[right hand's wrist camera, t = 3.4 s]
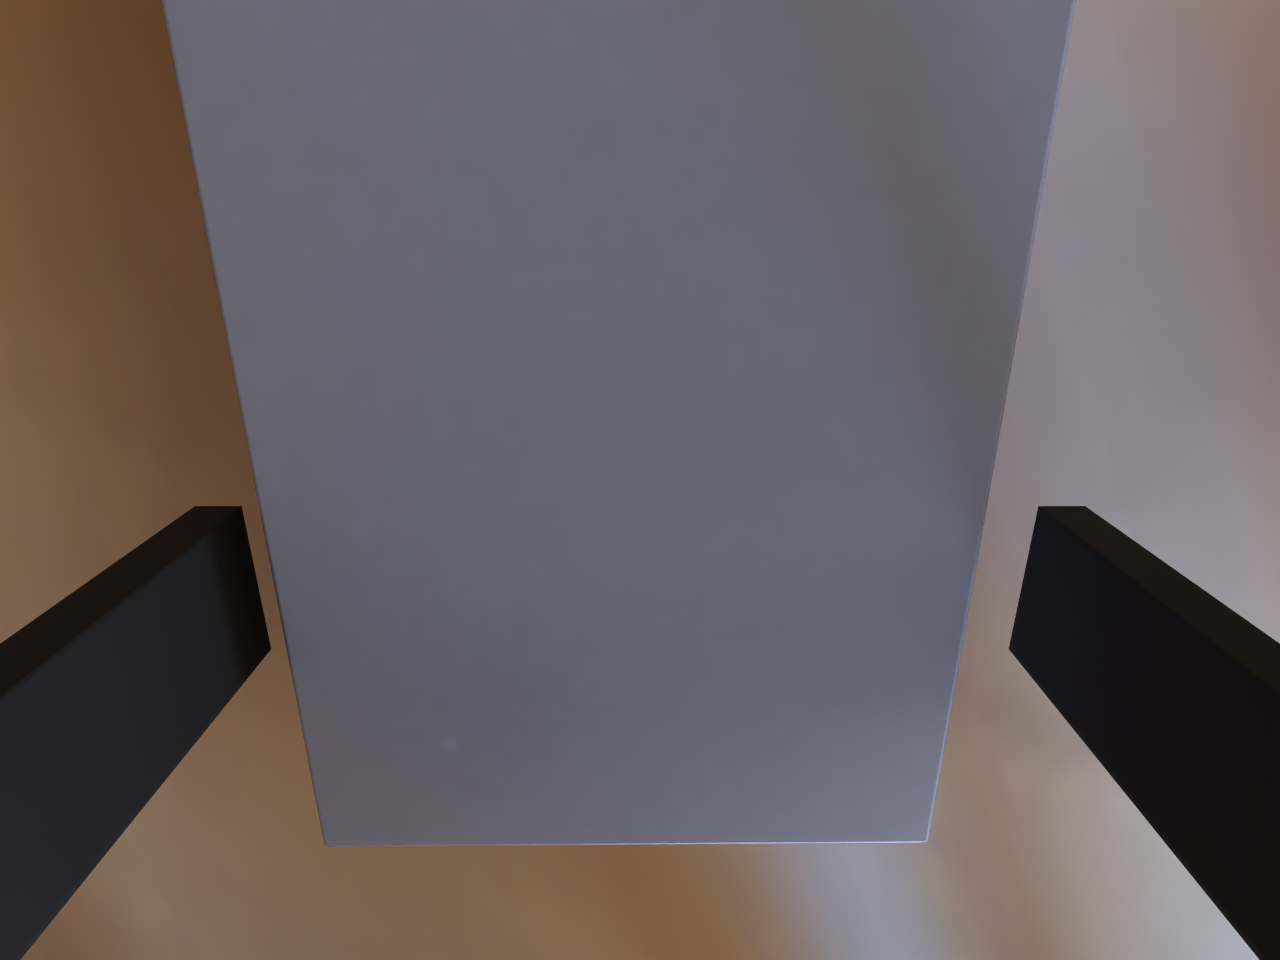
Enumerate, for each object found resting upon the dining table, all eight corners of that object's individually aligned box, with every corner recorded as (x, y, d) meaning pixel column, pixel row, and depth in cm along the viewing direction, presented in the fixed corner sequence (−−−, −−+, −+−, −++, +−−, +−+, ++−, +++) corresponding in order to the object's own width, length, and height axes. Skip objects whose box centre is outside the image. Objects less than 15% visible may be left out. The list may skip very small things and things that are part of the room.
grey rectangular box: (361, -277, 15) (-32, -966, 6) (886, -275, 15) (1247, -949, 6) (449, 585, 22) (322, 849, 13) (809, 584, 22) (929, 844, 13)
